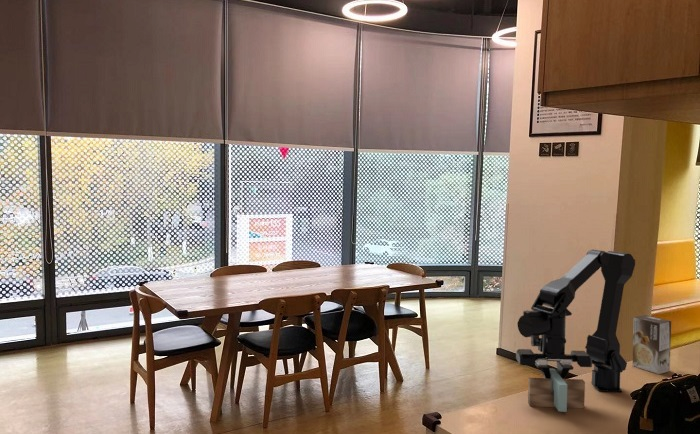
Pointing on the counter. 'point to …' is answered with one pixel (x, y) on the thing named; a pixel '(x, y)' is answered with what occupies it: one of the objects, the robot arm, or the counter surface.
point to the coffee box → (651, 343)
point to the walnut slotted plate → (545, 398)
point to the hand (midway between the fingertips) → (552, 388)
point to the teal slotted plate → (558, 390)
